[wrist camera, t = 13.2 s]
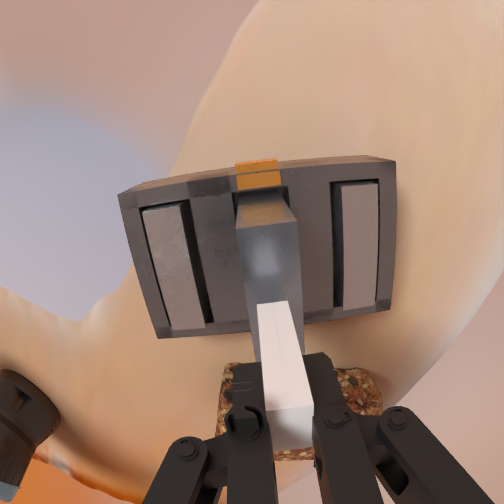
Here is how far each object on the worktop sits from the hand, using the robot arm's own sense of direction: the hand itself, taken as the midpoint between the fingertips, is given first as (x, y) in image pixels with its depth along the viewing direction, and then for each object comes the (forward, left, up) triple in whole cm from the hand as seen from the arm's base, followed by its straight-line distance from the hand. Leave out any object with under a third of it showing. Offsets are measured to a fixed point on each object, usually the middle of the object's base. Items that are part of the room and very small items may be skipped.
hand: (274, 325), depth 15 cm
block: (0, 0, -12) cm, 12 cm away
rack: (0, 0, -15) cm, 15 cm away
